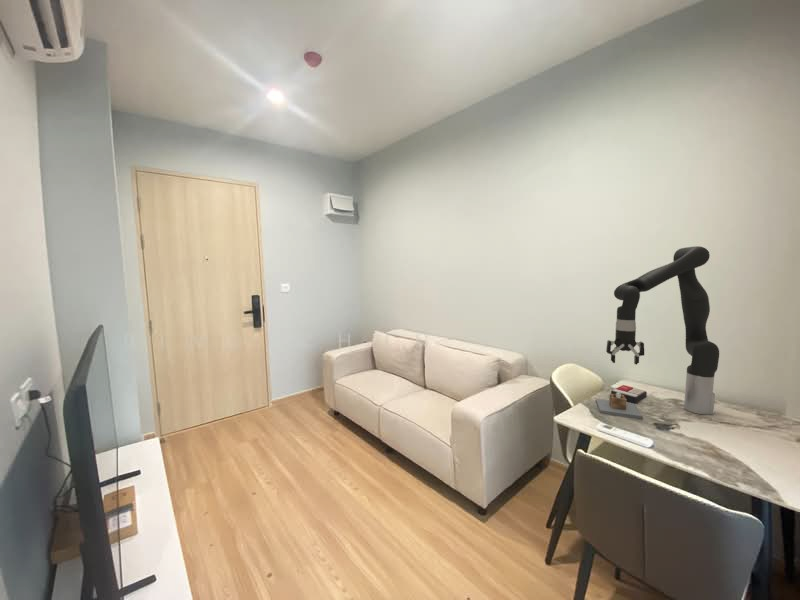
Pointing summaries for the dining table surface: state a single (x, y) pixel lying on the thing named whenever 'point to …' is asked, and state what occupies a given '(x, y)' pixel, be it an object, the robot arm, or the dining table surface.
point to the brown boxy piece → (617, 402)
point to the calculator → (630, 393)
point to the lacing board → (629, 412)
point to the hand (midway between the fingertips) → (624, 363)
